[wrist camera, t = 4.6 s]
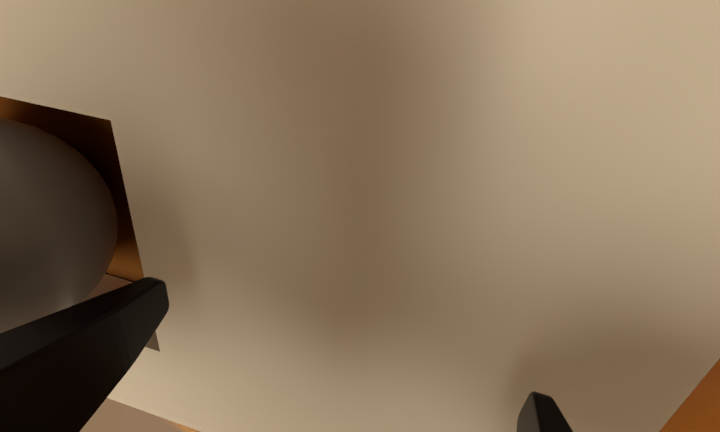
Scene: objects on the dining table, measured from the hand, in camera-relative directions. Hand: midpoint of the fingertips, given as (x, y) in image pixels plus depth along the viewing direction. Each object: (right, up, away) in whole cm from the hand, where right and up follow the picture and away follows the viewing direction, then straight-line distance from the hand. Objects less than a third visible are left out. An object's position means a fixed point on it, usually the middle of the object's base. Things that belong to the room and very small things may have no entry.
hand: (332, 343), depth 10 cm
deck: (-3, +3, +4) cm, 6 cm away
